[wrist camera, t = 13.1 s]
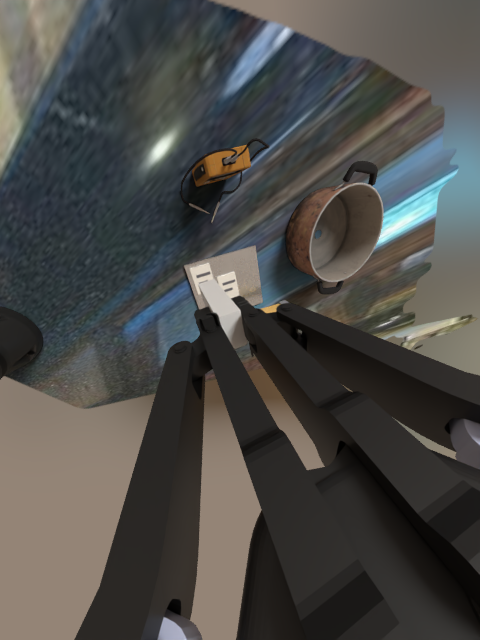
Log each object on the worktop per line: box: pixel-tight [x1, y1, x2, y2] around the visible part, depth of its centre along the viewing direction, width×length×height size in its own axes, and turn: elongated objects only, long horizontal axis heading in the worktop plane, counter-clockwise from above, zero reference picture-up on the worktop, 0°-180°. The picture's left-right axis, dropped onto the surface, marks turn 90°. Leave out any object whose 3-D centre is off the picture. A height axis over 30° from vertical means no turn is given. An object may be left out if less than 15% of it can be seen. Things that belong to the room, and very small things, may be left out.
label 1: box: [190, 263, 213, 295], centre depth 48 cm, size 5×7×1 cm
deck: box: [184, 245, 263, 309], centre depth 50 cm, size 19×18×7 cm
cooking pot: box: [286, 161, 383, 294], centre depth 51 cm, size 30×22×11 cm
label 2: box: [217, 272, 239, 298], centre depth 51 cm, size 5×7×1 cm
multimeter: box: [181, 138, 269, 223], centre depth 33 cm, size 15×10×20 cm
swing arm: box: [261, 300, 289, 313], centre depth 51 cm, size 16×4×3 cm, turn 97°
